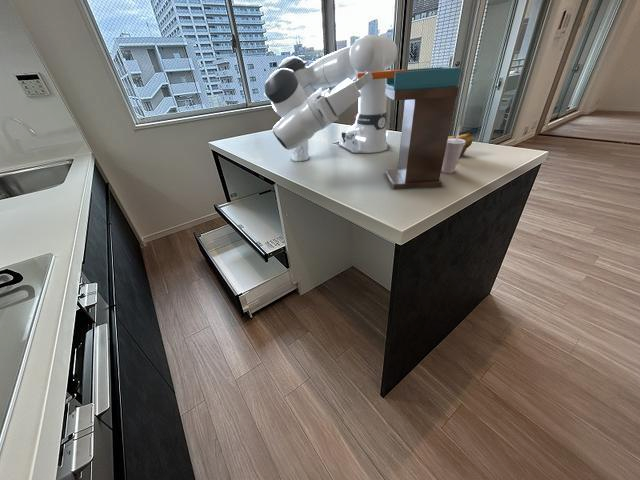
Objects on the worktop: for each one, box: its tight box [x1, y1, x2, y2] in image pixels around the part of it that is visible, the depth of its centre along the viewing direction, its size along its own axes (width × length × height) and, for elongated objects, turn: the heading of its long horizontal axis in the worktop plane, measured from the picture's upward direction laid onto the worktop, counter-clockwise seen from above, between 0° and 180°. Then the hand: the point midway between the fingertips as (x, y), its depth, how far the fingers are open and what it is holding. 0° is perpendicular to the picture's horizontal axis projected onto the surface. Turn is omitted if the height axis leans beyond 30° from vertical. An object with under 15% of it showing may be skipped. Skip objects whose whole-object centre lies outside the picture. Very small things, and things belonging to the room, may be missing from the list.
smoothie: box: [441, 125, 466, 174], centre depth 82 cm, size 6×6×14 cm
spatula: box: [357, 69, 434, 80], centre depth 66 cm, size 20×6×2 cm, turn 88°
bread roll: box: [448, 133, 474, 157], centre depth 97 cm, size 13×10×8 cm
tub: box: [385, 66, 462, 91], centre depth 67 cm, size 15×11×4 cm
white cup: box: [290, 139, 310, 162], centre depth 105 cm, size 8×8×10 cm
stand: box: [385, 86, 460, 190], centre depth 75 cm, size 16×13×26 cm
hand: (370, 73), depth 66 cm, fingers closed on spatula, 3 cm apart
